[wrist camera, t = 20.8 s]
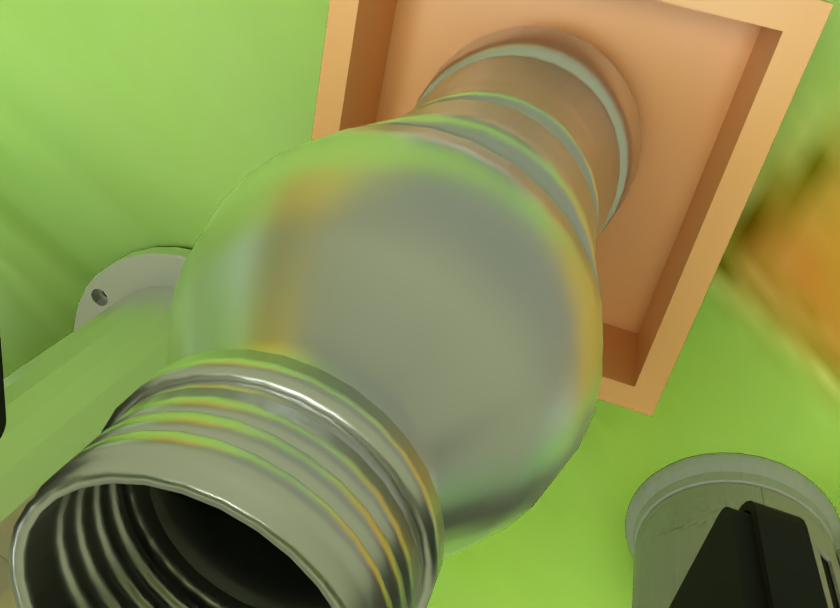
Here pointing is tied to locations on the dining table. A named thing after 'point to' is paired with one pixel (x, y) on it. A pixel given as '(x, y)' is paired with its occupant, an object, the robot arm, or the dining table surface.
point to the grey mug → (698, 509)
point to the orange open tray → (660, 133)
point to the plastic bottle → (361, 355)
